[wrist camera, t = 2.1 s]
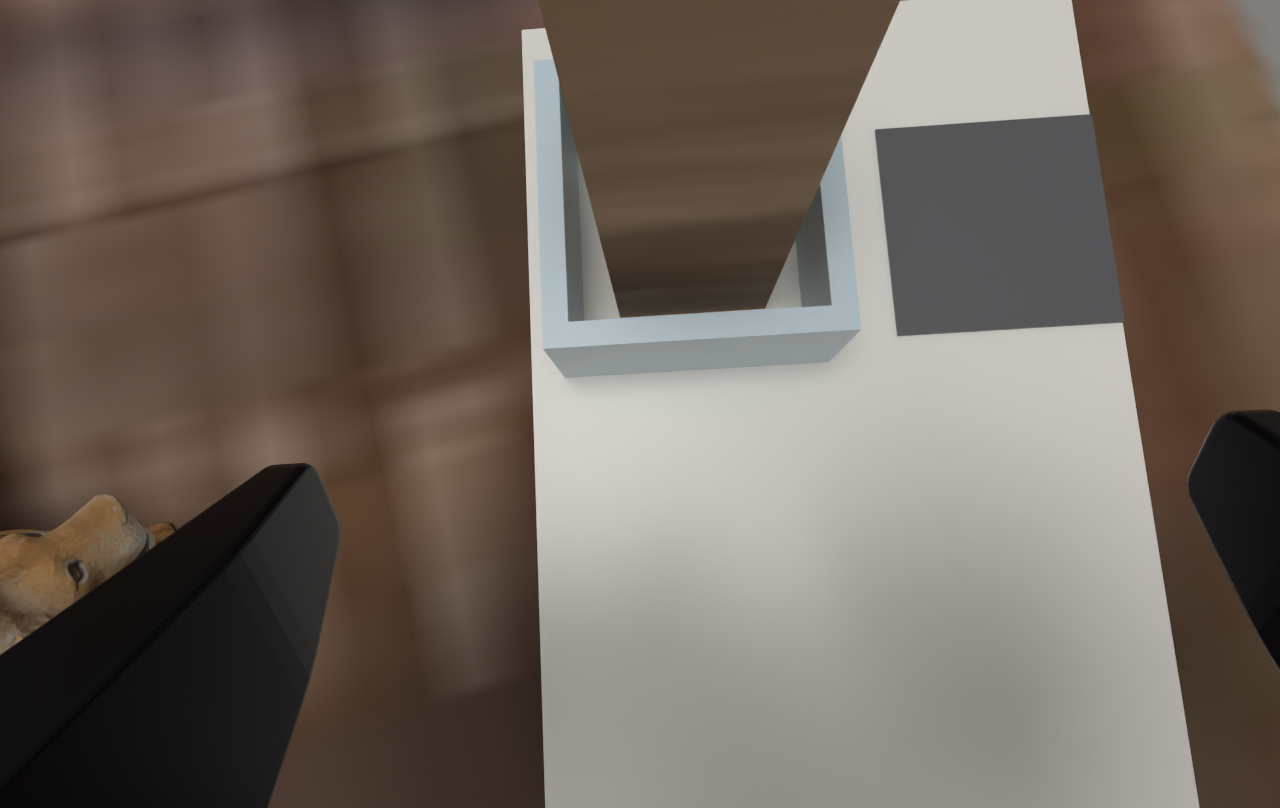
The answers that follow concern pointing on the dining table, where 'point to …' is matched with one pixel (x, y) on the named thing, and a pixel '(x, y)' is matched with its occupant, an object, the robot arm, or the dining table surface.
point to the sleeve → (690, 336)
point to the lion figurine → (66, 563)
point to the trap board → (877, 487)
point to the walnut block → (706, 134)
